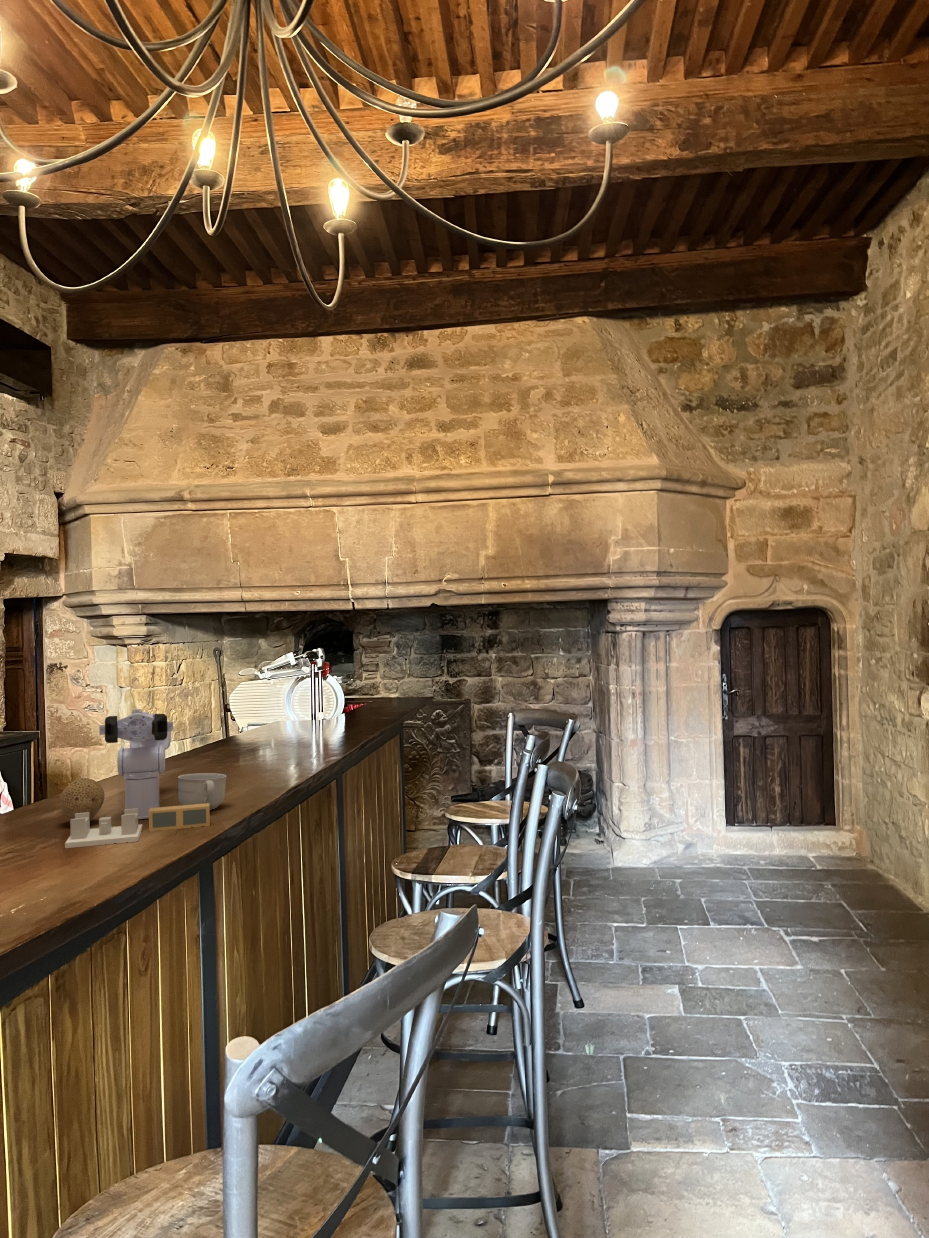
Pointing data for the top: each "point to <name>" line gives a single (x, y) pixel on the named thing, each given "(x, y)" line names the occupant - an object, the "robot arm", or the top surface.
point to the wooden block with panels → (179, 817)
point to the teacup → (201, 789)
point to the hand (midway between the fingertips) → (133, 728)
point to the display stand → (103, 830)
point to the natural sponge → (82, 798)
